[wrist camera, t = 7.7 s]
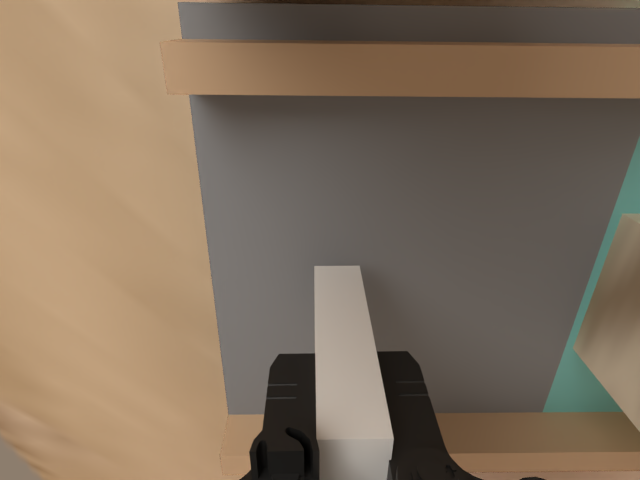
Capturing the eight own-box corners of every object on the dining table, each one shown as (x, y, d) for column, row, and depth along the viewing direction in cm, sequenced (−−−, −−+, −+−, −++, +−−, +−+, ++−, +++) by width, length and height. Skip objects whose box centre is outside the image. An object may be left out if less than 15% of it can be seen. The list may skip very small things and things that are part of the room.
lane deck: (202, 5, 14) (153, -1, 10) (1122, 17, 15) (1467, 16, 10) (241, 396, 22) (224, 488, 18) (834, 392, 23) (959, 480, 19)
